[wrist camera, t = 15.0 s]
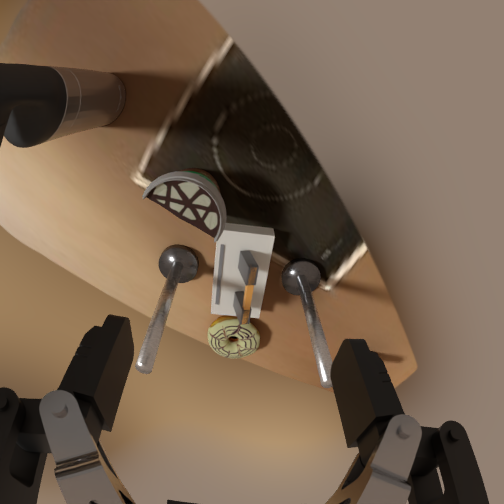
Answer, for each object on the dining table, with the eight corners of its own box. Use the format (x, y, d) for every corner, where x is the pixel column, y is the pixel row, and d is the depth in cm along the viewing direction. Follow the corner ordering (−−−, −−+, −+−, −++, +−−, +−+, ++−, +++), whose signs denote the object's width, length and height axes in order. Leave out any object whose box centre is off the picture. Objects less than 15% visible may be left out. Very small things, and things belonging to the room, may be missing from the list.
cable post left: (161, 276, 54) (120, 380, 32) (160, 242, 50) (110, 342, 29) (197, 280, 54) (174, 389, 33) (199, 246, 51) (171, 353, 29)
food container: (244, 187, 46) (244, 208, 37) (223, 217, 48) (218, 244, 40) (178, 145, 43) (161, 157, 34) (159, 178, 45) (139, 197, 36)
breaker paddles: (232, 306, 52) (239, 324, 48) (240, 250, 47) (248, 267, 43) (241, 305, 53) (249, 324, 49) (249, 250, 48) (259, 267, 44)
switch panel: (212, 303, 57) (210, 314, 54) (219, 222, 49) (217, 230, 46) (258, 308, 57) (259, 318, 55) (273, 228, 50) (274, 236, 47)
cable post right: (278, 288, 55) (295, 399, 34) (285, 256, 52) (309, 364, 31) (313, 292, 56) (345, 397, 34) (322, 260, 53) (365, 364, 31)
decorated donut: (246, 305, 57) (246, 317, 54) (267, 340, 62) (268, 352, 59) (199, 321, 59) (197, 334, 56) (223, 353, 64) (223, 366, 60)
